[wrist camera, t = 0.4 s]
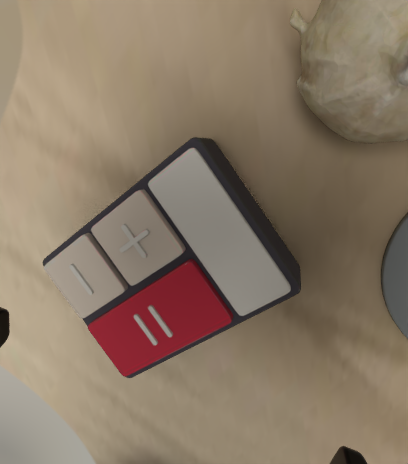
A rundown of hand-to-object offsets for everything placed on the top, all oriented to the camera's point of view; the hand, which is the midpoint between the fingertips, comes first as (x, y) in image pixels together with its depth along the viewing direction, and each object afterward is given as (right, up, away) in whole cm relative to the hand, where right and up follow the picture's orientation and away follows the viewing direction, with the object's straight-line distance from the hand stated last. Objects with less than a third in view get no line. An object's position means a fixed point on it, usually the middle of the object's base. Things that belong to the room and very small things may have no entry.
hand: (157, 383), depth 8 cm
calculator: (-1, +2, +16) cm, 16 cm away
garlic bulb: (+11, +13, +10) cm, 20 cm away
